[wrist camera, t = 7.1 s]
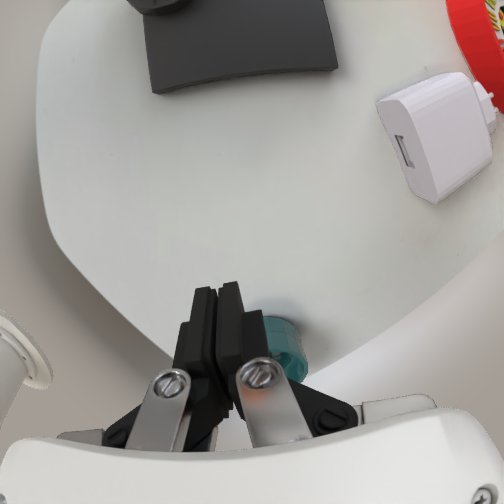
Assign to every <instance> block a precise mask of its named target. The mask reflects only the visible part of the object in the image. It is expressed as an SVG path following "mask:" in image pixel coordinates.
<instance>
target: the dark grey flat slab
mask: <svg viewBox="0 0 504 504" xmlns="http://www.w3.org/2000/svg"><path fill="white" fill-rule="evenodd" d="M127 1H128V2H129V3H130V5H131V6H132V7H134V8H135V9H136V10H137V11H138V12H139V13H140V14H143V23H144V33H145V42H146V51H147V59H148V66H149V73H150V80H151V87H152V92H153V93H155V94H161V93H165V92H169V91H173V90H177V89H181V88H185V87H189V86H194V85H199V84H203V83H208V82H214V81H219V80H225V79H231V78H238V77H245V76H253V75H262V74H273V73H286V72H305V71H333V70H335V69H337V68H338V63H337V58H336V53H335V48H334V43H333V39H332V34H331V30H330V26H329V22H328V18H327V14H326V10H325V6H324V3H323V0H127Z"/></svg>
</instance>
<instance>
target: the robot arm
mask: <svg viewBox="0 0 504 504" xmlns="http://www.w3.org/2000/svg"><path fill="white" fill-rule="evenodd" d="M36 376H37V369H36V366H35V364H34V362H33V360H32V358H31V357H30V355H29V354H28V352H27V351H26V350H25V348H24V347H23V346H22V345H21V344H20V343H19V341H18V340H17V339H16V338H15V337H14V336H12V335H11V334H10V333H9V332H8V331H6V330H5V329H4V328H2V327H0V428H1V425H2V423H3V421H4V419H5V417H6V414H7V412H8V410H9V408H10V406H11V404H12V402H13V400H14V398H15V396H16V394H17V392H18V390H19V389H20V387H21V385H22V383H23V381H26V382H32V381H34V380H35V378H36ZM233 402H234V404H235V406H236V409H237V411H238V413H239V415H240V417H241V419H243V420H244V421H246V424H247V427H248V431H249V435H250V438H251V442H252V445H253V448H251V449H241V450H230V451H216V452H215V447H216V441H217V435H218V426H217V425H218V424H219V423H220V422H221V421H223V418H229V410H233ZM0 504H504V461H503V459H502V458H501V456H500V454H499V452H498V450H497V448H496V447H495V445H494V443H493V441H492V440H491V438H490V437H489V435H488V434H487V432H486V431H485V430H484V428H483V427H482V425H481V424H480V423H479V422H478V421H477V420H476V419H475V418H474V417H473V416H472V415H471V414H469V413H468V412H466V411H464V410H461V409H456V408H437V406H436V404H435V402H434V400H433V399H432V398H431V397H429V396H427V395H424V394H413V395H408V396H403V397H397V398H391V399H384V400H377V401H369V402H362V405H357V406H351V405H349V404H347V403H345V402H343V401H340V400H338V399H335V398H333V397H331V396H328V395H326V394H323V393H321V392H319V391H316V390H314V389H312V388H309V387H307V386H305V385H302V384H300V383H298V382H296V381H294V380H292V379H289V378H287V377H286V375H285V373H284V371H283V368H282V367H281V365H280V364H279V363H278V362H277V361H275V360H274V359H271V358H270V352H269V346H268V341H267V335H266V330H265V325H264V320H263V315H262V310H255V311H250V312H245V311H244V307H243V303H242V299H241V295H240V290H239V286H238V283H237V281H235V282H229V283H224V284H223V287H222V288H219V291H218V296H217V292H216V290H215V289H211V288H210V286H207V287H201V288H196V289H195V294H194V299H193V305H192V310H191V316H190V321H189V322H183V323H181V326H180V331H179V336H178V341H177V346H176V351H175V356H174V361H173V366H172V369H167V370H164V371H162V372H160V373H159V374H157V375H156V376H155V377H154V378H153V380H152V381H151V383H150V385H149V387H148V390H147V392H146V395H145V397H144V400H143V402H142V404H140V405H139V406H138V407H136V408H135V409H133V410H132V411H131V412H129V413H128V414H127V415H125V416H124V417H122V418H121V419H120V420H118V421H117V422H115V423H114V424H112V425H111V426H110V427H109V428H108V429H107V430H106V431H104V430H103V429H95V430H85V431H72V432H64V433H61V434H60V435H58V436H57V438H50V437H31V438H26V439H21V440H19V441H17V442H15V443H13V444H12V445H11V446H10V448H9V449H8V451H7V453H6V454H5V457H4V459H3V462H2V464H1V466H0Z"/></svg>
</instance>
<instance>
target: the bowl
mask: <svg viewBox="0 0 504 504" xmlns="http://www.w3.org/2000/svg"><path fill="white" fill-rule="evenodd" d="M263 320H264V325H265V330H266V335H267V341H268V346H269V352H270V358H271V359H274V360H275V361H277V362H278V363H279V364H280V365H281V367H282V368H283V371H284V373H285V375H286V377H287V378H289V379H292V380H294V381H296V382H298V383H301V382H303V380H304V378H305V377H306V375H307V373H308V362H307V359H306V356H305V352H304V349H303V346H302V343H301V339H300V336H299V333H298V331H297V330H296V328H295V327H294V325H293V324H291V323H289V322H287V321H285V320H284V319H281V318H275V317H263Z"/></svg>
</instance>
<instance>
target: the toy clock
mask: <svg viewBox="0 0 504 504" xmlns="http://www.w3.org/2000/svg"><path fill="white" fill-rule="evenodd" d="M446 6H447V12H448V16H449V19H450V23H451V27H452V29H453V32H454V35H455V38H456V40H457V43H458V45H459V47H460V50H461V52H462V54H463V56H464V58H465V60H466V62H467V65H468V67H469V69H470V70H471V72H472V74H473V76H474V78H475V79H476V81H478V82H479V83H480V84H481V85H482V86H483V88H484V89H485V90H486V92H487V93H488V94H489V93H491V92H492V93H493V94H494V97H492V98H491V102H492V104H493V105H494V106H495V107H497V108H498V110H499V111H501V112H502V113H503V114H504V0H446Z"/></svg>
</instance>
